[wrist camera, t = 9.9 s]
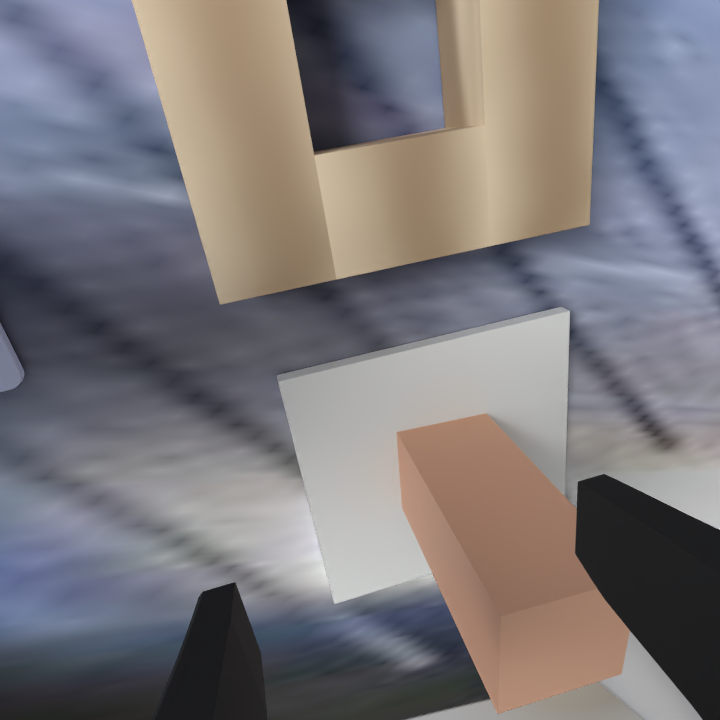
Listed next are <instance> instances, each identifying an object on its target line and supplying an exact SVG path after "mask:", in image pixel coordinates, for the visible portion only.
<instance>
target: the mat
mask: <svg viewBox="0 0 720 720" xmlns="http://www.w3.org/2000/svg"><path fill="white" fill-rule="evenodd" d="M569 326H570V311H569V310H567V309H565V308H563V307H558V308H554V309H549V310H545V311H541V312H537V313H533V314H529V315H525V316H520V317H516V318H512V319H508V320H504V321H500V322H495V323H491V324H487V325H483V326H479V327H475V328H470V329H466V330H462V331H458V332H454V333H450V334H446V335H441V336H437V337H433V338H429V339H425V340H421V341H416V342H412V343H408V344H404V345H400V346H396V347H391V348H387V349H383V350H379V351H375V352H371V353H367V354H362V355H358V356H354V357H350V358H346V359H342V360H337V361H333V362H329V363H325V364H321V365H317V366H312V367H308V368H304V369H300V370H296V371H292V372H288V373H283V374H279V375H277V380H278V384H279V388H280V392H281V396H282V400H283V404H284V408H285V412H286V416H287V420H288V424H289V428H290V431H291V435H292V439H293V443H294V447H295V451H296V455H297V459H298V463H299V467H300V471H301V475H302V479H303V483H304V487H305V490H306V494H307V498H308V502H309V506H310V510H311V514H312V518H313V522H314V526H315V530H316V534H317V538H318V542H319V545H320V549H321V553H322V557H323V561H324V565H325V569H326V573H327V577H328V581H329V585H330V589H331V593H332V597H333V601H334V604H336V603H340V602H343V601H346V600H349V599H352V598H356V597H359V596H362V595H365V594H368V593H372V592H375V591H378V590H381V589H384V588H388V587H391V586H394V585H397V584H400V583H404V582H407V581H410V580H413V579H416V578H420V577H423V576H426V575H429V574H432V571H431V569H430V567H429V565H428V563H427V561H426V559H425V556H424V554H423V552H422V550H421V548H420V546H419V543H418V541H417V539H416V537H415V535H414V533H413V531H412V528H411V526H410V524H409V522H408V520H407V518H406V515H405V513H404V511H403V509H402V500H401V487H400V473H399V460H398V446H397V433H396V432H399V431H404V430H409V429H414V428H418V427H423V426H428V425H433V424H437V423H442V422H447V421H452V420H456V419H461V418H466V417H471V416H475V415H480V414H485V413H487V414H488V415H489V417H490V418H491V419H492V420H493V421H494V422H495V423H496V424H497V425H498V426H499V427H500V428H501V429H502V430H503V431H504V432H505V434H506V435H507V436H508V437H509V438H510V439H511V440H512V441H513V442H514V443H515V444H516V445H517V446H518V447H519V448H520V449H521V450H522V452H523V453H524V454H525V455H526V456H527V457H528V458H529V459H530V460H531V461H532V462H533V463H534V464H535V465H536V466H537V467H538V469H539V470H540V471H541V472H542V473H543V474H544V475H545V476H546V477H547V478H548V479H549V480H550V481H551V482H552V483H553V484H554V485H555V487H556V488H557V489H558V490H559V491H560V492H561V493H562V494H563V495H564V496H565V477H566V439H567V401H568V364H569Z"/></svg>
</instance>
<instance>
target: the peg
mask: <svg viewBox="0 0 720 720" xmlns="http://www.w3.org/2000/svg"><path fill="white" fill-rule="evenodd" d="M396 433H397V446H398V460H399V473H400V487H401V500H402V509H403V511H404V513H405V515H406V518H407V520H408V522H409V524H410V526H411V528H412V531H413V533H414V535H415V537H416V539H417V541H418V543H419V546H420V548H421V550H422V552H423V554H424V556H425V559H426V561H427V563H428V565H429V567H430V569H431V571H432V574H433V576H434V578H435V580H436V582H437V584H438V587H439V589H440V591H441V593H442V595H443V597H444V599H445V602H446V604H447V606H448V608H449V610H450V612H451V615H452V617H453V619H454V621H455V623H456V625H457V627H458V630H459V632H460V634H461V636H462V638H463V640H464V643H465V645H466V647H467V649H468V651H469V653H470V655H471V658H472V660H473V662H474V664H475V666H476V668H477V671H478V673H479V675H480V677H481V679H482V681H483V683H484V686H485V688H486V690H487V692H488V694H489V696H490V699H491V701H492V703H493V705H494V707H495V709H496V711H497V713H498V714H499V713H502V712H505V711H508V710H512V709H515V708H518V707H521V706H524V705H527V704H530V703H533V702H536V701H540V700H543V699H546V698H549V697H552V696H555V695H558V694H561V693H565V692H567V691H570V690H574V689H577V688H580V687H583V686H586V685H589V684H592V683H595V682H599V681H602V680H605V679H608V678H611V677H614V676H617V675H621V674H622V670H623V664H624V659H625V654H626V649H627V643H628V638H629V633H630V630H629V629H628V628H627V626H626V625H625V624H624V623H623V622H622V620H621V619H620V618H619V617H618V615H617V614H616V613H615V612H614V610H613V609H612V608H611V607H610V605H609V604H608V603H607V602H606V600H605V599H604V598H603V596H602V595H601V593H600V592H599V590H598V589H597V587H596V586H595V584H594V583H593V581H592V580H591V578H590V577H589V575H588V573H587V572H586V570H585V569H584V567H583V566H582V564H581V562H580V561H579V559H578V558H577V556H576V554H575V541H576V517H577V509H576V508H575V507H574V506H573V505H572V504H571V502H570V501H569V500H568V499H567V498H566V497H565V496H564V495H563V494H562V493H561V492H560V491H559V490H558V489H557V488H556V487H555V485H554V484H553V483H552V482H551V481H550V480H549V479H548V478H547V477H546V476H545V475H544V474H543V473H542V472H541V471H540V470H539V469H538V467H537V466H536V465H535V464H534V463H533V462H532V461H531V460H530V459H529V458H528V457H527V456H526V455H525V454H524V453H523V452H522V450H521V449H520V448H519V447H518V446H517V445H516V444H515V443H514V442H513V441H512V440H511V439H510V438H509V437H508V436H507V435H506V434H505V432H504V431H503V430H502V429H501V428H500V427H499V426H498V425H497V424H496V423H495V422H494V421H493V420H492V419H491V418H490V417H489V415H488V414H487V413H485V414H480V415H475V416H471V417H466V418H461V419H456V420H452V421H447V422H442V423H437V424H433V425H428V426H423V427H418V428H414V429H409V430H404V431H399V432H396Z"/></svg>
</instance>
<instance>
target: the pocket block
mask: <svg viewBox="0 0 720 720" xmlns="http://www.w3.org/2000/svg"><path fill="white" fill-rule="evenodd" d="M132 2H133V6H134V9H135V12H136V16H137V19H138V23H139V26H140V30H141V33H142V37H143V40H144V44H145V47H146V51H147V54H148V57H149V61H150V64H151V68H152V71H153V75H154V78H155V82H156V85H157V89H158V92H159V96H160V99H161V102H162V106H163V109H164V113H165V116H166V120H167V123H168V127H169V130H170V134H171V137H172V141H173V144H174V147H175V151H176V154H177V158H178V161H179V165H180V168H181V172H182V175H183V179H184V182H185V186H186V189H187V192H188V196H189V199H190V203H191V206H192V210H193V213H194V217H195V220H196V224H197V227H198V231H199V234H200V237H201V241H202V244H203V248H204V251H205V255H206V258H207V262H208V265H209V269H210V272H211V276H212V279H213V282H214V286H215V289H216V293H217V296H218V300H219V303H220V305H221V304H226V303H230V302H235V301H240V300H244V299H249V298H253V297H258V296H263V295H267V294H272V293H277V292H281V291H286V290H290V289H295V288H300V287H304V286H309V285H313V284H318V283H323V282H327V281H332V280H337V279H341V278H346V277H350V276H355V275H360V274H364V273H369V272H374V271H378V270H383V269H387V268H392V267H397V266H401V265H406V264H410V263H415V262H420V261H424V260H429V259H434V258H438V257H443V256H447V255H452V254H457V253H461V252H466V251H471V250H475V249H480V248H484V247H489V246H494V245H498V244H503V243H508V242H512V241H517V240H521V239H526V238H531V237H535V236H540V235H544V234H549V233H554V232H558V231H563V230H568V229H572V228H577V227H581V226H586V225H590V204H591V179H592V155H593V131H594V106H595V82H596V58H597V33H598V9H599V0H436V12H437V26H438V39H439V53H440V66H441V80H442V93H443V107H444V120H445V128H443V129H437V130H432V131H426V132H421V133H415V134H409V135H404V136H398V137H392V138H387V139H381V140H375V141H370V142H364V143H359V144H353V145H347V146H342V147H336V148H330V149H325V150H319V151H313V146H312V140H311V135H310V129H309V124H308V118H307V113H306V107H305V102H304V96H303V90H302V85H301V79H300V74H299V68H298V63H297V57H296V51H295V46H294V40H293V35H292V29H291V24H290V18H289V13H288V7H287V1H286V0H132Z"/></svg>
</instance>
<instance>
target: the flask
mask: <svg viewBox="0 0 720 720" xmlns="http://www.w3.org/2000/svg"><path fill="white" fill-rule="evenodd" d="M599 683H600V684H601V685H603V686H604V687H605V688H606V689H607V690H609V691H610V692H611V693H612V694H613V695H615V696H616V697H617V698H618V699H619V700H620V701H622V702H623V703H624V704H625V705H626V706H628V707H629V708H630V709H631V710H632V711H634V712H635V713H636V714H637V715H638V716H639V717H641V718H642V719H643V720H703V719H702V718H701V717H700V716H699V714H698V713H697V712H696V710H695V709H694V708H693V707H692V705H691V704H690V703H689V702H688V700H687V699H686V698H685V697H684V695H683V694H682V693H681V692H680V691H679V689H678V688H677V687H676V686H675V685H674V683H673V682H672V681H671V680H670V679H669V677H668V676H667V675H666V674H665V672H664V671H663V670H662V669H661V668H660V666H659V665H658V664H657V663H656V662H655V660H654V659H653V658H652V657H651V656H650V654H649V653H648V652H647V651H646V650H645V648H644V647H643V646H642V645H641V643H640V642H639V641H638V640H637V639H636V637H635V636H634V635H633V634H632V633H631V631H630V633H629V638H628V643H627V649H626V654H625V659H624V664H623V670H622V674H621V675H617V676H614V677H611V678H608V679H605V680H602V681H599Z"/></svg>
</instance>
